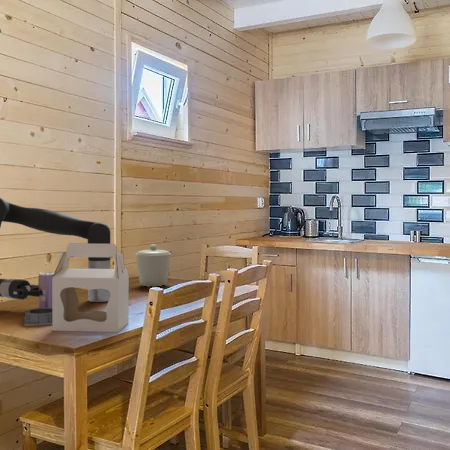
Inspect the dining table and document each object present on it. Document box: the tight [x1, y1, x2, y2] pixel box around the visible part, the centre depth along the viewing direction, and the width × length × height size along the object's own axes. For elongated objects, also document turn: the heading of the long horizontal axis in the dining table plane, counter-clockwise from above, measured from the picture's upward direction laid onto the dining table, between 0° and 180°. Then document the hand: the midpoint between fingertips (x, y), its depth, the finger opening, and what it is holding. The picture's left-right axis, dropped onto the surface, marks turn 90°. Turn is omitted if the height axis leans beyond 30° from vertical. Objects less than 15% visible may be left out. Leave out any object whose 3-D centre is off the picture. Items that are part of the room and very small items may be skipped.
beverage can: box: [37, 272, 55, 308], centre depth 196 cm, size 6×6×15 cm
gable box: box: [51, 242, 129, 333], centre depth 175 cm, size 22×13×28 cm, turn 87°
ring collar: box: [23, 307, 53, 327], centre depth 183 cm, size 12×12×4 cm
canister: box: [134, 243, 172, 288], centre depth 264 cm, size 18×18×21 cm
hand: (47, 291), depth 196 cm, fingers open, 8 cm apart
